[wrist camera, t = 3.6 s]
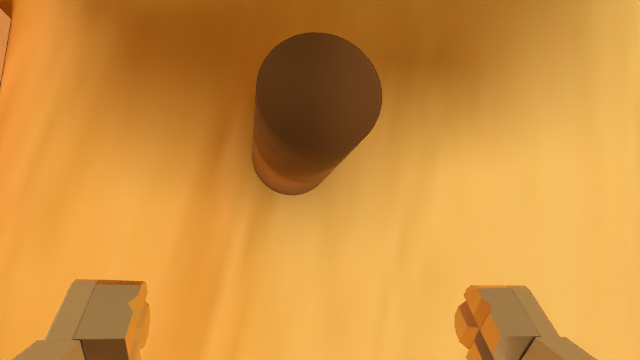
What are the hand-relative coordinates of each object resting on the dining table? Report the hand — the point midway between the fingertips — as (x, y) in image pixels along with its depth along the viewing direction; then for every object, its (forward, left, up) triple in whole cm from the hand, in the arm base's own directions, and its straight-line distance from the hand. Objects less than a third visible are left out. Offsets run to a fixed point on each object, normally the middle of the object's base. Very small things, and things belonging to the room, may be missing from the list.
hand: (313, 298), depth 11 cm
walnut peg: (0, -6, -10) cm, 12 cm away
